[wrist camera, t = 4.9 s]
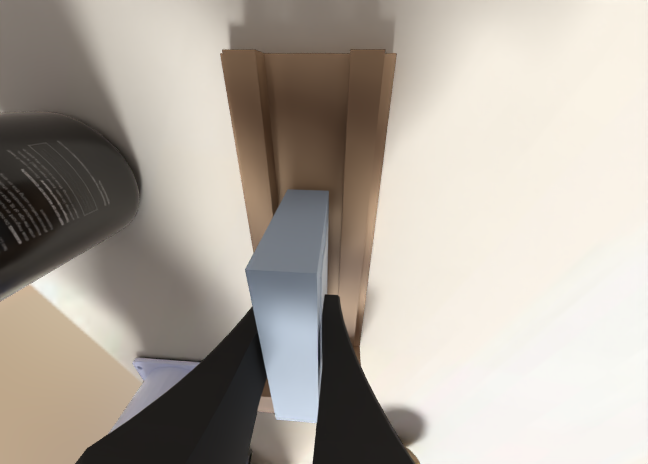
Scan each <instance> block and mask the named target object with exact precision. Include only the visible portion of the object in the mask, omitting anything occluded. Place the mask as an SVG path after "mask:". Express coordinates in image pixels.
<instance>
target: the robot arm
mask: <svg viewBox="0 0 648 464" xmlns="http://www.w3.org/2000/svg"><path fill="white" fill-rule="evenodd" d="M133 365H134V367H135V368H136V370H137V371H138V373H139V374H140V376H141V377H142V379H143V380H144V382H143V383H142V385H141V386H140V388H139V389H138V391H137V392H136V394H135V395H134V397H133V398H132V400H131V401H130V403H129V404H128V406H127V407H126V409H125V410H124V412H123V413H122V415H121V416H120V417H119V419H118V421H117V422H116V423H115V425H114V426H113V428H112V429H111V431H110V432H109V434H108V435H106V436H105V437H103V438H102V439H100V440H99V441H97V442H96V443H95V444H93V445H92V446H90V447H88V448H87V449H86V451H85V452H84V453H83V454H82V456H81V457H80V458H79V459H78V461H77V462H76V463H75V464H246V461H247V456H248V451H249V447H250V442H251V437H252V433H253V428H254V424H255V419H256V415H257V410H258V406H259V402H260V399H261V395H262V392H263V389H264V386H265V382H266V379H267V373H266V369H265V364H264V359H263V354H262V349H261V344H260V339H259V335H258V330H257V325H256V320H255V315H254V310H253V306H252V307H251V309H250V310H249V311H248V312H247V314H246V315H245V316H244V317H243V318H242V319H241V321H240V322H239V323H238V324H237V325H236V326H235V328H234V329H233V330H232V331H231V332H230V333H229V334H228V335H227V336H226V337H225V338H224V340H223V341H222V342H221V343H220V344H219V345H218V346H217V347H216V348H215V349H214V350H213V351H212V352H211V353H210V354H209V355H208V356H207V357H206V358H205V359H204V360H203V361H201V362H189V361H175V360H162V359H148V358H136V359H135V360H134V361H133ZM313 464H415V462H414V461H413V459H412V458H411V456H410V454H409V453H408V451H407V450H406V448H405V447H404V445H403V443H402V442H401V440H400V439H399V437H398V435H397V434H396V432H395V430H394V429H393V427H392V425H391V424H390V422H389V420H388V418H387V416H386V415H385V413H384V411H383V409H382V408H381V406H380V404H379V402H378V400H377V399H376V397H375V395H374V393H373V391H372V389H371V387H370V385H369V383H368V381H367V379H366V377H365V374H364V372H363V370H362V368H361V366H360V363H359V361H358V359H357V356H356V354H355V351H354V349H353V346H352V343H351V341H350V338H349V335H348V331H347V328H346V325H345V322H344V318H343V314H342V309H341V303H340V297H339V296H338V295H329V294H325V296H324V304H323V312H322V374H321V385H320V396H319V406H318V416H317V426H316V436H315V446H314V456H313Z"/></svg>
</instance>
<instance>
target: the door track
mask: <svg viewBox="0 0 648 464" xmlns="http://www.w3.org/2000/svg"><path fill="white" fill-rule="evenodd" d="M220 55H221V61H222V67H223V73H224V79H225V85H226V91H227V97H228V103H229V109H230V115H231V121H232V127H233V133H234V139H235V145H236V151H237V157H238V163H239V169H240V175H241V181H242V187H243V193H244V199H245V205H246V210H247V216H248V222H249V228H250V234H251V240H252V246H253V252H255V250H256V248H257V246H258V244H259V242H260V241H261V239H262V237H263V235H264V233H265V231H266V229H267V227H268V225H269V224H270V222H271V220H272V218H273V216H274V214H275V212H276V210H277V209H278V207H279V205H280V203H281V201H282V199H283V197H284V195H285V193H286V192H287V190H288V189H291V190H323V191H329V216H328V278H327V294H329V295H338V296H339V297H340V303H341V309H342V314H343V318H344V322H345V325H346V328H347V331H348V335H349V338H350V341H351V343H352V346H353V349H354V351H355V354H356V356H357V359H358V361H359V363H360V338H361V331H362V323H363V315H364V307H365V299H366V291H367V283H368V275H369V267H370V260H371V252H372V244H373V236H374V228H375V220H376V212H377V204H378V197H379V189H380V181H381V173H382V165H383V157H384V149H385V141H386V133H387V126H388V118H389V110H390V102H391V94H392V86H393V78H394V70H395V63H396V55H397V53H385V49H351V50H350V53H262V52H260V51H257V50H222V53H220ZM360 366H361V363H360ZM257 411H258V412H269V413H275V412H274V407H273V402H272V398H271V393H270V388H269V383H268V378H267V379H266V382H265V386H264V389H263V392H262V395H261V399H260V402H259V406H258V410H257Z"/></svg>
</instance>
